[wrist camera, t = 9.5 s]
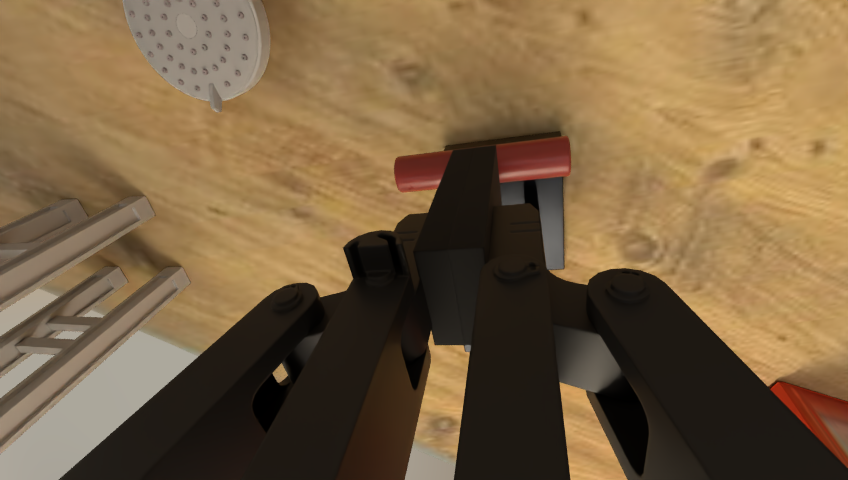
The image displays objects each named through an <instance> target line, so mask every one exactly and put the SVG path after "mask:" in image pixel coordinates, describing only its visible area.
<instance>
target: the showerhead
mask: <svg viewBox="0 0 848 480" xmlns="http://www.w3.org/2000/svg"><path fill="white" fill-rule="evenodd" d="M123 6H124V11H125V16H126V19H127V22H128V25H129V28H130V31H131V33H132V35H133V37H134V39H135V41H136V43H137V45H138V47H139V49H140V50H141V52H142V53H143V55H144V56H145V58H146V59H147V61H148V62H149V63H150V65H151V66H152V67H153V68H154V69H155V70H156V71H157V72H158V73H159V75H160V76H162V77H163V78H164V79H165V80H166V81H167V82H168V83H169V84H171V85H172V86H174V87H175V88H177V89H178V90H180V91H181V92H183V93H185V94H187V95H189V96H191V97H194V98H197V99H200V100H204V101H210V105H211V108H212V109H213V110H214V111H215V112H221V111H222V101H225V100H229V99H232V98H234V97H236V96H239V95H241V94H243V93H245V92H247V91H249V90H250V89H252V88H253V87H254V86H255V85H256V84H257V83H258V81H259V80H260V79H261V77H262V76H263V74H264V72H265V69H266V67H267V64H268V60H269V55H270V29H269V23H268V19H267V15H266V11H265V9H264V6H263V3H262V1H261V0H123Z"/></svg>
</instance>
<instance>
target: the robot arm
mask: <svg viewBox="0 0 848 480" xmlns="http://www.w3.org/2000/svg"><path fill="white" fill-rule="evenodd" d="M343 249H344V252H345V255H346V258H347V261H348V264H349V267H350V270H351V273H352V276H353V280H352V282H351V284H350V286H349V287H348V289H347V291H344V292H340V293H336V294H332V295H328V296H324V297H320V296H319V294H318V291H317V290H316V288H315V287H314V285H311V284H308V283H295V284H291V285H286V286H284V287H282V288H280V289H278V290H276V291H274V292H273V293H271V294H270V295H269V296H267V297H266V298H265V299H263V300H262V301H261V302H260V303H259V304H258V305H257V306H256V307H254V308H253V309H252V310H251V311H250V312H249V313H248V314H246V315H245V316H244V317H243V318H242V319H241V320H240V321H238V322H237V323H236V324H235V325H234V326H233V327H232V328H231V329H229V330H228V331H227V332H226V333H225V334H224V335H223V336H221V337H220V338H219V339H218V340H217V341H216V342H215V343H213V344H212V345H211V346H210V347H209V348H208V349H207V350H206V351H204V352H203V353H202V354H201V355H200V356H199V357H198V358H197V359H195V360H194V361H193V362H192V363H191V364H190V365H189V366H187V367H186V368H185V369H184V370H183V371H182V372H181V373H179V374H178V375H177V376H176V377H175V378H174V379H173V380H171V381H170V382H169V383H168V384H167V385H166V386H165V387H164V388H162V389H161V390H160V391H159V392H158V393H157V394H156V395H154V396H153V397H152V398H151V399H150V400H149V401H148V402H146V403H145V404H144V405H143V406H142V407H141V408H140V409H139V410H138V411H136V412H135V413H134V414H133V415H132V416H131V417H129V418H128V419H127V420H126V421H125V422H124V423H123V424H121V425H120V426H119V427H118V428H117V429H116V430H115V431H114V432H112V433H111V434H110V435H109V436H108V437H107V438H106V439H105V440H103V441H102V442H101V443H100V444H99V445H98V446H96V447H95V448H94V449H93V450H92V451H91V452H90V453H89V454H87V456H85V457H84V458H83V459H82V460H81V461H79V462H78V463H77V464H76V465H75V466H74V467H73V468H71V470H69V471H68V472H67V473H66V474H65V475H64V476H63V477H61V478H60V479H59V480H405V475H406V471H407V466H408V462H409V457H410V453H411V448H412V444H413V439H414V435H415V431H416V426H417V422H418V417H419V413H420V408H421V404H422V399H423V395H424V390H425V386H426V381H427V377H428V372H429V368H430V363H431V354H430V350H429V346H428V340H429V336H430V332H431V331H432V335H433V339H434V343H435V345H471V349H470V357H469V365H468V373H467V380H466V388H465V396H464V404H463V412H462V420H461V428H460V436H459V444H458V452H457V460H456V467H455V475H454V480H570V472H569V464H568V455H567V446H566V437H565V428H564V419H563V411H562V402H561V393H560V384H559V382H561V383H565V384H568V385H571V386H575V387H578V388H581V389H585V390H586V393H587V397H588V399H589V401H590V403H591V405H592V407H593V409H594V411H595V413H596V415H597V417H598V419H599V421H600V424H601V426H602V428H603V430H604V432H605V434H606V436H607V438H608V440H609V442H610V444H611V446H612V448H613V450H614V452H615V454H616V457H617V459H618V461H619V463H620V465H621V467H622V469H623V471H624V473H625V475H626V477H627V479H628V480H848V468H847V467H846V466H845V465H844V464H843V463H842V462H841V461H840V460H839V459H838V458H837V457H836V456H835V455H834V454H833V453H832V452H831V451H830V450H829V449H828V448H827V446H826V445H825V444H824V443H823V442H822V441H821V440H820V439H819V438H818V437H817V436H816V435H815V434H814V433H813V432H812V431H811V430H810V429H809V428H808V427H807V426H806V425H805V424H804V423H803V422H802V421H801V420H800V419H799V418H798V417H797V416H796V415H795V414H794V413H793V412H792V411H791V410H790V409H789V408H788V407H787V406H786V405H785V404H784V403H783V402H782V401H781V400H780V399H779V398H778V397H777V396H776V395H775V394H774V393H773V392H772V391H771V390H770V389H769V388H768V387H767V386H766V385H765V384H764V383H763V382H762V381H761V380H760V379H759V377H758V376H757V375H756V374H755V373H754V372H753V371H752V370H751V369H750V368H749V367H748V366H747V365H746V364H745V363H744V362H743V361H742V360H741V359H740V358H739V357H738V356H737V355H736V354H735V353H734V352H733V351H732V350H731V349H730V348H729V347H728V346H727V345H726V344H725V343H724V342H723V341H722V340H721V339H720V338H719V337H718V336H717V335H716V334H715V333H714V332H713V331H712V330H711V329H710V328H709V327H708V326H707V325H706V324H705V323H704V322H703V321H702V320H701V319H700V318H699V317H698V316H697V315H696V314H695V313H694V312H693V311H692V310H691V308H690V307H689V306H688V305H687V304H686V303H685V302H684V301H683V300H682V299H681V298H680V297H679V296H678V295H677V294H676V293H675V292H674V291H673V290H672V289H671V288H670V287H669V286H668V285H667V284H666V283H665V282H663V281H662V280H660V279H659V278H657V277H656V276H654V275H652V274H649V273H646V272H643V271H641V270H633V269H626V268H622V269H610V270H606V271H603V272H600V273H598V274H596V275H595V276H594V277H592V278H591V279H590V280H589V283H588V285H584V284H578V283H573V282H569V281H565V280H563V279H561V278H558V277H556V276H555V275H553V274H552V273H550V271H549V270H548V269H547V268H546V266H545V263H544V256H543V247H542V238H541V230H540V221H539V212H538V210H537V209H536V208H534V207H533V206H532V205H531V204H530V203H526V204H514V205H502V200H501V190H500V180H499V170H498V160H497V150H496V145H491V146H483V147H475V148H467V149H458V150H453V151H452V153H451V156H450V158H449V161H448V163H447V166H446V169H445V171H444V174H443V176H442V179H441V181H440V184H439V186H438V189H437V191H436V194H435V197H434V199H433V202H432V204H431V207H430V209H429V212H428V213H421V214H409V215H408V216H406V217H405V218H404V219H403V220H401V221H400V222H399V223H398V224H397V226H396V228H395V230H394V232H392V231H382V230H380V231H374V232H369V233H366V234H363V235H360V236H358V237H356V238H354V239H353V240H351V241H349V242H348V243H347V244H346V245H345V246H344V247H343ZM281 363H282V364H283V366H284V368H285V370H286V372H287V374H288V376H287V377H286V378H285V379H284V380H283V381H282V382H280V383H278V382H277V381H276V379H275V378H274V376H273V374H272V373H273V372H274V371H275V369H276V368H277V367H278V366H279V365H280V364H281Z"/></svg>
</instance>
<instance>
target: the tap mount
mask: <svg viewBox="0 0 848 480" xmlns="http://www.w3.org/2000/svg"><path fill="white" fill-rule="evenodd" d="M561 136H562V135H561V132H560V131H559V132H551V133H543V134H535V135H527V136H519V137H511V138H504V139H496V140H488V141H480V142H472V143H464V144H456V145H448V146H446V147H445V149H444V151H448V150H456V149H464V148H472V147H481V146H489V145H497V144H505V143H513V142H521V141H529V140H537V139H545V138H553V137H561ZM500 190H501V200H502V205H514V204H526V203H530V204H531V205H532V206H533V207H534V208H536V209H537V210H538V212H539V221H540V230H541V238H542V247H543V256H544V263H545V266H546V268H547V269H548V270H557V269H564V210H563V177H553V178H543V179H533V180H523V181H513V182H503V183H500ZM464 349H465V352H470V349H471V345H464Z"/></svg>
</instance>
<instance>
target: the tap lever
mask: <svg viewBox="0 0 848 480" xmlns="http://www.w3.org/2000/svg"><path fill="white" fill-rule="evenodd" d="M489 146H491V145H489ZM481 147H483V146H481ZM472 148H475V147H472ZM464 149H467V148H464ZM456 150H458V149H456ZM496 150H497V160H498V170H499V180H500V183H503V182H513V181H523V180H533V179H543V178H553V177H563V176H569V175H570V172H571V151H570V142H569V138H568V136H561V137H553V138H545V139H537V140H529V141H521V142H513V143H505V144H497V145H496ZM452 151H453V150H448V151H440V152H432V153H424V154H416V155H408V156H400V157H397V158H396V160H395V165H394V174H395V180H396V184H397V187H398V189H399V190H400V191H401V192H412V191H422V190H432V189H438V186H439V184H440V181H441V179H442V176H443V174H444V171H445V169H446V166H447V163H448V161H449V158H450V156H451V153H452Z"/></svg>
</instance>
